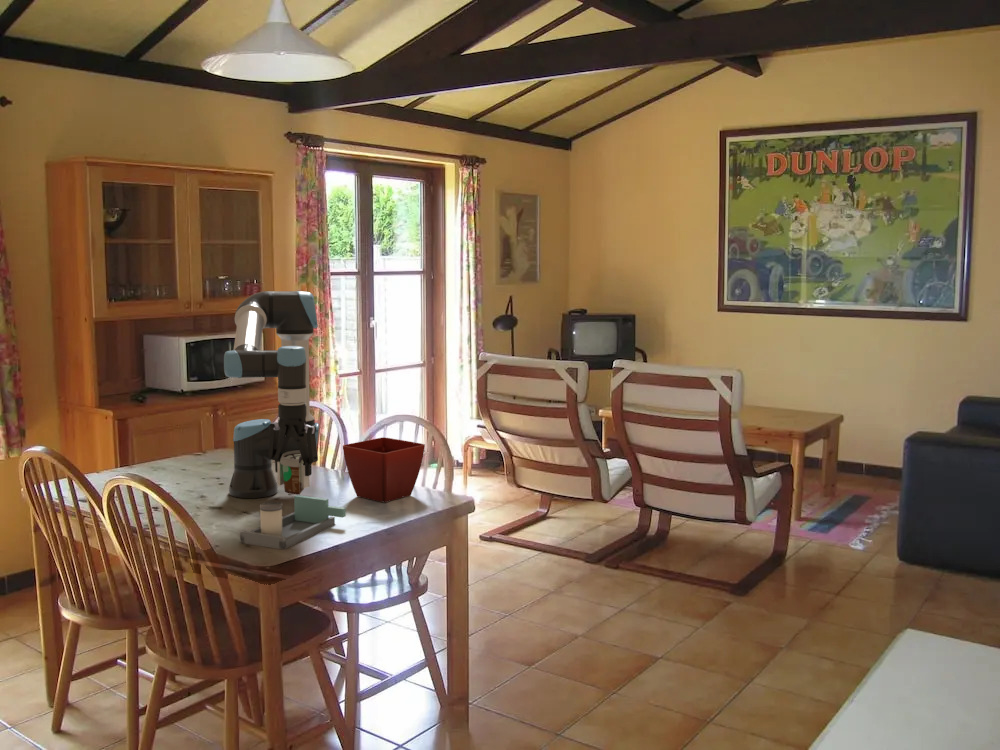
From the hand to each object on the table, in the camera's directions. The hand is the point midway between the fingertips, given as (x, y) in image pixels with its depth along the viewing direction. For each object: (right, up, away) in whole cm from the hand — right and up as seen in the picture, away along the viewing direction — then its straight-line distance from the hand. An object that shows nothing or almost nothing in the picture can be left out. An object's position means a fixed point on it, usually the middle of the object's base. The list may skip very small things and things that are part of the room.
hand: (293, 485), depth 260 cm
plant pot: (+20, -9, +43) cm, 48 cm away
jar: (-4, -14, -8) cm, 16 cm away
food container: (-1, -1, 0) cm, 2 cm away
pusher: (+6, -11, +9) cm, 16 cm away
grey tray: (-1, -14, 0) cm, 14 cm away
